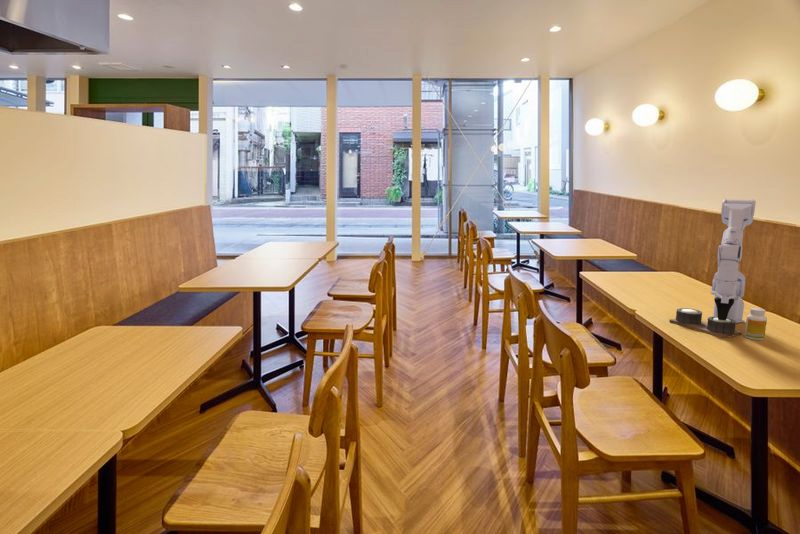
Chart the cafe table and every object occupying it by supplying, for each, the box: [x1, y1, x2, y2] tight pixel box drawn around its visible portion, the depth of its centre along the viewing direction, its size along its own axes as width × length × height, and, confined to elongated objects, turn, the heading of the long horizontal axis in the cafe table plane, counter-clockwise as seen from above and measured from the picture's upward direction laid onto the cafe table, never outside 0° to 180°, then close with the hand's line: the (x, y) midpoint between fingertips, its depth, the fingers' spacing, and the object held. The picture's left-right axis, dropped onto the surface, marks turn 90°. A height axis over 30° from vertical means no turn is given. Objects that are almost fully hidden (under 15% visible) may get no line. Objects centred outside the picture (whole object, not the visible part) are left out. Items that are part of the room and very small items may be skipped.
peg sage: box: [713, 318, 731, 322], centre depth 171 cm, size 5×5×4 cm
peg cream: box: [681, 308, 697, 313], centre depth 182 cm, size 5×5×4 cm
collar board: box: [669, 307, 742, 339], centre depth 177 cm, size 9×20×4 cm, turn 23°
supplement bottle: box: [744, 307, 768, 341], centre depth 165 cm, size 5×5×10 cm
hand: (721, 319), depth 171 cm, fingers closed, pressing on peg sage
